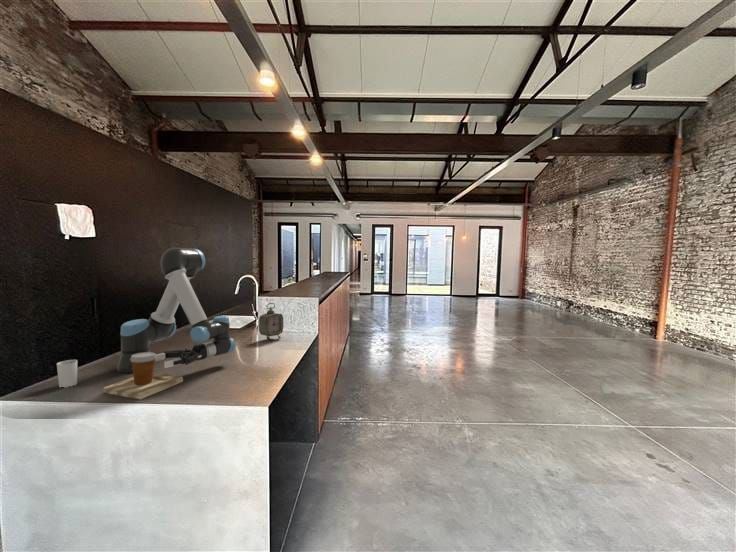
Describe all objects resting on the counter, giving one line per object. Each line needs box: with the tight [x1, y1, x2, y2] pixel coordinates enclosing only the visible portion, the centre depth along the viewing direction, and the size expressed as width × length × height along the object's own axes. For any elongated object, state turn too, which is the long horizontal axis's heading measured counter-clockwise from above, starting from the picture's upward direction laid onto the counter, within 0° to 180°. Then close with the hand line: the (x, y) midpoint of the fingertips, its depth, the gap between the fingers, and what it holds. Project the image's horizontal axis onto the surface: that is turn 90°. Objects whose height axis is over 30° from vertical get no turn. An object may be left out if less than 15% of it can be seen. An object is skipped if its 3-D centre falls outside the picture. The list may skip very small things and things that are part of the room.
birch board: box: [103, 372, 184, 400], centre depth 144 cm, size 20×20×2 cm
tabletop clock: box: [258, 302, 284, 343], centre depth 227 cm, size 14×9×25 cm, turn 147°
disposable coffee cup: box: [130, 351, 157, 385], centre depth 146 cm, size 10×10×12 cm
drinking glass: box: [56, 359, 78, 388], centre depth 145 cm, size 7×7×10 cm
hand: (156, 362), depth 147 cm, fingers open, 13 cm apart
